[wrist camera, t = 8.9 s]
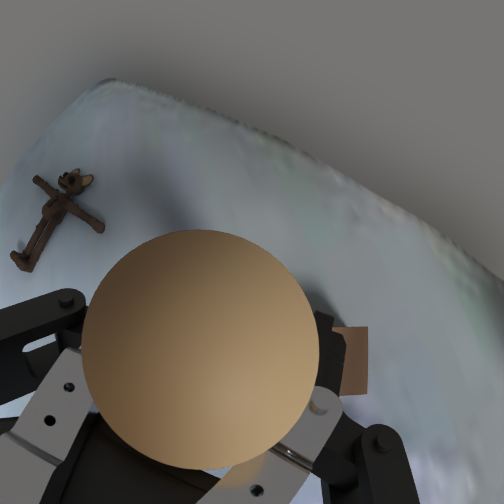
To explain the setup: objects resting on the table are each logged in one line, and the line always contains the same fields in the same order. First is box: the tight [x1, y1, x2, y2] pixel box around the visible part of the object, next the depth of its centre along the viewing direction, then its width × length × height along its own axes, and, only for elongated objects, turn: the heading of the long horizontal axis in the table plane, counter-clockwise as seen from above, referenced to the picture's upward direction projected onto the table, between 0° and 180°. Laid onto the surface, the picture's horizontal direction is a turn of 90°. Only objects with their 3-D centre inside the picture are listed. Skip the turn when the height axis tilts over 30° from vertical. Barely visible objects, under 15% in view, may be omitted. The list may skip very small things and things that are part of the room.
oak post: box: [81, 230, 319, 470], centre depth 10 cm, size 4×4×12 cm
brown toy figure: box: [10, 169, 105, 273], centre depth 31 cm, size 18×4×14 cm
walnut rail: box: [332, 327, 368, 396], centre depth 23 cm, size 16×5×5 cm, turn 87°
